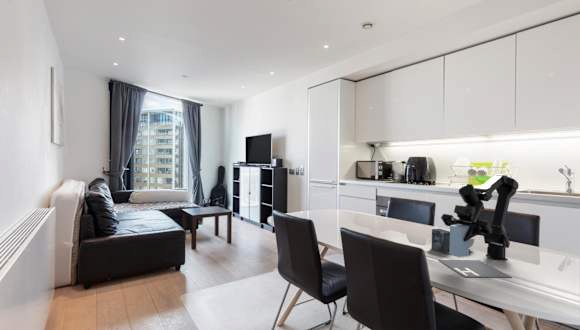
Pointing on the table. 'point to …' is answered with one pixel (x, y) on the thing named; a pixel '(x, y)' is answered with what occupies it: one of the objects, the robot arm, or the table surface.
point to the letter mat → (474, 269)
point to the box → (441, 240)
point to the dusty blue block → (458, 240)
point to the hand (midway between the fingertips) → (457, 239)
